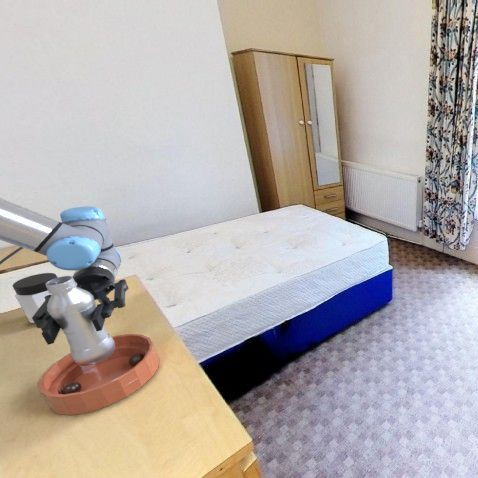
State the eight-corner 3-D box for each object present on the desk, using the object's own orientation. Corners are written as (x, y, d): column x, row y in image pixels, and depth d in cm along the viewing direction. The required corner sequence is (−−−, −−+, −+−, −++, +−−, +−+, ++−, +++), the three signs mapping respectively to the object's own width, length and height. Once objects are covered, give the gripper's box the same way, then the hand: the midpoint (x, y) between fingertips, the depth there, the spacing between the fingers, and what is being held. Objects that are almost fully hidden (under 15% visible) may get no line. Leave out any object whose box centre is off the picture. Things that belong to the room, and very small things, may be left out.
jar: (66, 319, 92) (48, 284, 87) (25, 328, 88) (4, 291, 83) (78, 303, 99) (62, 269, 94) (40, 310, 95) (21, 275, 90)
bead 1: (63, 394, 69) (57, 384, 67) (82, 386, 71) (77, 376, 70) (65, 402, 67) (59, 392, 66) (85, 393, 69) (79, 383, 68)
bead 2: (129, 365, 76) (125, 355, 75) (145, 358, 79) (141, 349, 77) (132, 371, 75) (128, 362, 74) (148, 364, 77) (144, 355, 76)
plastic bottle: (69, 366, 68) (23, 287, 60) (105, 345, 74) (68, 270, 66) (91, 373, 67) (48, 292, 59) (126, 350, 73) (91, 274, 65)
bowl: (47, 384, 72) (34, 364, 69) (148, 342, 85) (141, 324, 82) (56, 435, 61) (42, 413, 59) (170, 378, 74) (162, 358, 72)
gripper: (148, 281, 86) (142, 329, 69) (44, 305, 75) (8, 367, 58) (138, 257, 83) (130, 300, 66) (29, 277, 72) (-14, 335, 55)
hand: (73, 331), depth 62 cm, fingers closed on plastic bottle, 6 cm apart
